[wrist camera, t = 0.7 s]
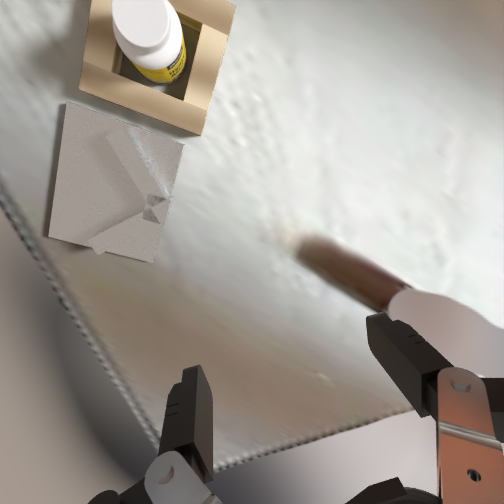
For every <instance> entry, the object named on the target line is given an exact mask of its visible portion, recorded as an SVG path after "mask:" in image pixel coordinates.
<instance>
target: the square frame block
mask: <svg viewBox="0 0 504 504" xmlns="http://www.w3.org/2000/svg"><path fill="white" fill-rule="evenodd" d="M168 1H169V2H170V4H171V5H172V6H173V8H174V9H175V11H176V13H177V15H178V18H179V20H180V23H182V24H184V25H186V26H189V27H191V28H193V29H195V30H197V31H199V32H201V33H200V37H199V41H198V45H197V49H196V53H195V57H194V61H193V65H192V69H191V73H190V77H189V81H188V85H187V89H186V93H185V97H184V101H182V100H179V99H177V98H174V97H172V96H170V95H167V94H165V93H162V92H160V91H157V90H155V89H152V88H150V87H147V86H145V85H142V84H140V83H137V82H135V81H132V80H130V79H127V78H125V77H122V76H120V75H119V74H120V69H121V63H122V58H123V51H122V49H121V48H120V46H119V44H118V42H117V40H116V38H115V34H114V30H113V17H112V11H111V3H112V0H92V2H91V9H90V15H89V22H88V29H87V36H86V43H85V50H84V57H83V63H82V70H81V77H80V84H79V89H80V90H82V91H84V92H87V93H89V94H91V95H94V96H97V97H99V98H102V99H105V100H107V101H110V102H113V103H115V104H118V105H120V106H123V107H126V108H128V109H131V110H134V111H136V112H139V113H142V114H144V115H147V116H150V117H152V118H155V119H157V120H160V121H163V122H165V123H168V124H171V125H173V126H176V127H179V128H181V129H184V130H187V131H189V132H192V133H195V134H197V135H200V136H201V135H202V131H203V127H204V124H205V120H206V116H207V113H208V109H209V106H210V102H211V98H212V95H213V91H214V87H215V84H216V80H217V77H218V73H219V69H220V66H221V62H222V58H223V55H224V51H225V47H226V44H227V40H228V37H229V33H230V29H231V26H232V22H233V18H234V14H235V9H236V6H235V5H233V4H231V3H229V2H227V1H225V0H168Z"/></svg>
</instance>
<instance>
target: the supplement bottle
mask: <svg viewBox="0 0 504 504" xmlns="http://www.w3.org/2000/svg"><path fill="white" fill-rule="evenodd" d="M111 11H112V17H113V30H114V34H115V38H116V40H117V42H118V44H119V46H120V48H121V49H122V51H123V52H124V54H125V55H126V56H127V57H128V58H129V60H130V61H131V62H132V63H133V64H134V66H135V67H136V68H137V69H138V70H139V72H140V73H141V74H142V75H143V76H144V77H145V78H147V79H148V80H150V81H151V82H154V83H156V84H162V85H166V84H171V83H173V82H175V81H176V80H178V79H179V78H180V77H181V75H182V74H183V72H184V70H185V67H186V60H187V57H186V48H185V43H184V38H183V33H182V28H181V23H180V20H179V18H178V15H177V13H176V11H175V9H174V8H173V6H172V5H171V4H170V2H169V1H168V0H112V3H111Z"/></svg>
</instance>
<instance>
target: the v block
mask: <svg viewBox="0 0 504 504" xmlns="http://www.w3.org/2000/svg"><path fill="white" fill-rule="evenodd" d="M184 145H185V144H182V143H180V142H177V141H174V140H171V139H169V138H166V137H163V136H160V135H158V134H155V133H152V132H149V131H147V130H144V129H141V128H138V127H136V126H133V125H130V124H127V123H125V122H122V121H119V120H117V119H114V118H111V117H108V116H106V115H103V114H100V113H97V112H95V111H92V110H89V109H86V108H84V107H81V106H78V105H75V104H73V103H70V102H67V104H66V111H65V118H64V126H63V133H62V140H61V148H60V155H59V162H58V170H57V177H56V185H55V192H54V199H53V207H52V214H51V221H50V229H49V236H48V237H52V238H56V239H59V240H63V241H67V242H71V243H75V244H79V245H83V246H87V247H91V248H93V249H94V251H95V252H96V253H97V254H98V255H99V254H101V253H103V252H105V251H107V252H111V253H115V254H119V255H123V256H127V257H131V258H135V259H139V260H143V261H147V262H151V263H153V262H154V260H155V256H156V252H157V249H158V245H159V241H160V237H161V233H162V230H163V226H164V224H165V223H166V221H167V218H168V214H169V211H170V207H171V203H172V199H173V196H171V195H172V191H173V187H174V184H175V180H176V176H177V172H178V168H179V165H180V161H181V157H182V153H183V149H184Z"/></svg>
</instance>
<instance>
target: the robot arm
mask: <svg viewBox="0 0 504 504" xmlns="http://www.w3.org/2000/svg"><path fill="white" fill-rule="evenodd" d="M366 326H367V337H368V344H369V347H370V350H371V352H372V353H373V355H374V356H375V358H376V359H377V360H378V362H379V363H380V364H381V366H382V367H383V368H384V369H385V371H386V372H387V373H388V375H389V376H390V377H391V379H392V380H393V381H394V383H395V384H396V385H397V387H398V388H399V389H400V391H401V392H402V393H403V394H404V396H405V397H406V398H407V400H408V401H409V402H410V404H411V405H412V406H413V408H414V409H415V410H416V412H417V413H418V414H419V416H420V417H421V418H422V417H426V416H429V415H431V416H432V417H433V418H434V420H435V421H436V449H437V450H436V451H437V496H435V495H433V494H431V493H429V492H426V491H423V490H419V489H416V488H409V487H403V485H402V483H401V482H400V480H399V478H398V477H396V478H393V479H389V480H386V481H383V482H380V483H377V484H373V485H371V486H368V487H367V488H366V489H364V490H363V491H362V492H360V493H359V494H358V495H356V496H355V497H354V498H353V499H351V500H350V501H348V502H347V503H345V504H504V455H503V450H502V447H501V443H504V378H480V377H478V376H477V375H475V374H474V373H472V372H470V371H468V370H465V369H462V368H458V367H454V366H453V365H452V364H451V363H450V362H448V361H447V360H446V359H445V358H444V357H443V356H442V355H441V354H440V353H439V352H438V351H437V350H436V349H435V348H434V347H432V346H431V345H430V344H429V343H428V342H427V341H425V339H424V338H423V337H422V336H420V335H419V334H418V333H417V332H416V331H415V330H414V329H413V328H412V327H411V326H410V325H408V324H406V323H404V322H402V321H400V320H395V321H392V320H391V319H390V318H389V317H388V316H387V315H386V314H385V313H383V312H381V313H377V314H374V315H370V316H367V317H366ZM166 407H167V409H166V411H165V418H164V423H163V429H162V435H161V441H160V447H159V453H158V457H157V458H156V459H155V460H154V461H153V463H152V464H151V465H150V467H149V469H148V470H147V473H146V476H145V477H144V478H143V479H142V480H141V481H139V482H138V483H136V484H135V485H134V486H132V487H131V488H129V489H128V490H126V491H124V492H123V493H121V494H120V495H118V494H117V492H115V491H113V490H107V491H104V492H102V493H100V494H98V495H96V496H95V497H94V498H93V499H92V500H91V501H90V502H89V503H88V504H222V503H221V501H220V500H219V499H218V498H217V497H216V496H215V495H214V494H212V493H210V491H209V490H208V489H207V487H206V486H205V483H207V482H210V481H213V399H212V393H211V389H210V386H209V384H208V381H207V379H206V377H205V374H204V372H203V369H202V367H201V365H196V366H193V367H189V368H186V369H184V370H183V374H182V382H181V383H177V384H174V386H173V388H172V389H171V391H170V393H169V395H168V399H167V405H166Z"/></svg>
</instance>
